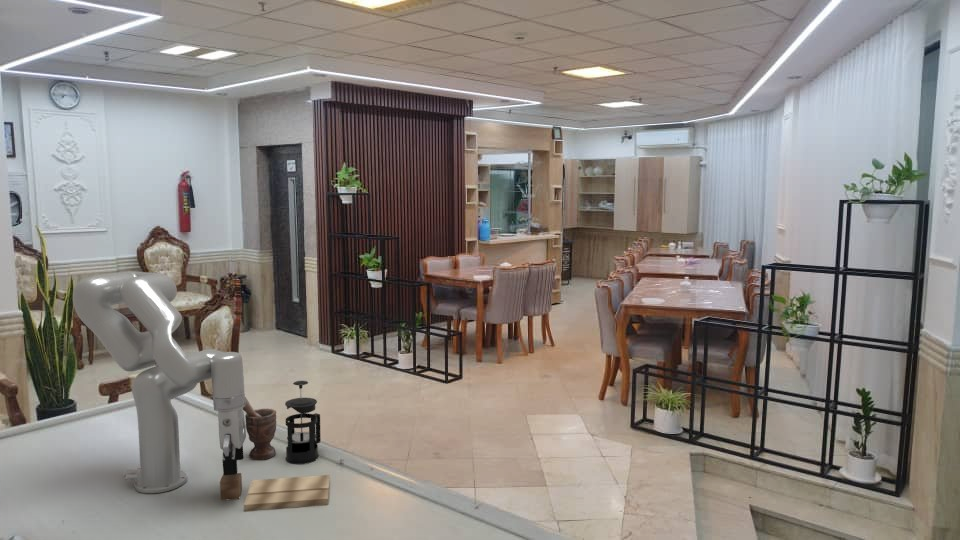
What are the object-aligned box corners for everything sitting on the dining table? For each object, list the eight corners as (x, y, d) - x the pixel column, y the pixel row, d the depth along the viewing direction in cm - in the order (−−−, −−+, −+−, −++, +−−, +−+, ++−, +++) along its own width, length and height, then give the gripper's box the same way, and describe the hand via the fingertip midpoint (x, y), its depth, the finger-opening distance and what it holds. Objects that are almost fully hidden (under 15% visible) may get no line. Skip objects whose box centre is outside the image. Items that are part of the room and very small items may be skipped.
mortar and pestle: (256, 467, 188) (254, 398, 185) (232, 462, 191) (230, 395, 189) (283, 452, 198) (281, 388, 196) (260, 448, 202) (258, 384, 199)
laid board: (244, 511, 162) (243, 504, 162) (247, 500, 167) (247, 494, 167) (328, 504, 166) (327, 498, 165) (328, 494, 171) (328, 488, 171)
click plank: (247, 499, 168) (247, 493, 168) (251, 485, 174) (251, 480, 174) (328, 493, 172) (328, 488, 171) (329, 480, 178) (329, 474, 178)
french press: (298, 467, 188) (296, 388, 185) (276, 459, 193) (275, 383, 190) (329, 454, 197) (328, 379, 195) (308, 447, 203) (306, 374, 200)
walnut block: (220, 500, 167) (219, 481, 167) (223, 492, 172) (223, 474, 171) (239, 499, 168) (238, 480, 168) (241, 491, 173) (241, 472, 172)
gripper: (239, 410, 159) (244, 479, 161) (249, 391, 176) (254, 453, 178) (206, 413, 158) (211, 482, 160) (220, 393, 175) (224, 456, 177)
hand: (233, 466), depth 169 cm, fingers open, 9 cm apart
